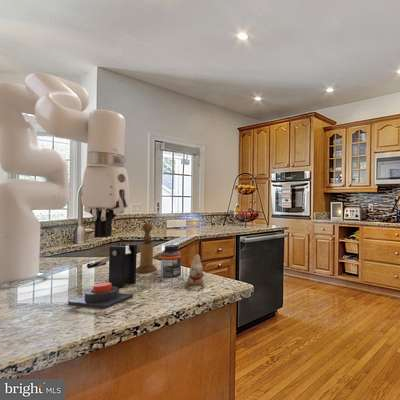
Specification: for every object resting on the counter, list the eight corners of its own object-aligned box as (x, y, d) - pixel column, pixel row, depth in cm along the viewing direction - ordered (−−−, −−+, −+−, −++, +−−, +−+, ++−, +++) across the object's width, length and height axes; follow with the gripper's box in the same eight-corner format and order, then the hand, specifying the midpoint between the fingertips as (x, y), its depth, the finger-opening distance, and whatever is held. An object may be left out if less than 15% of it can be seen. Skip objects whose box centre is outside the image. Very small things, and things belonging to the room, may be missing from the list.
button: (88, 293, 65) (89, 285, 65) (102, 288, 69) (103, 281, 69) (101, 294, 65) (101, 287, 65) (115, 290, 68) (115, 282, 68)
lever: (88, 270, 79) (85, 263, 80) (103, 267, 84) (101, 259, 84) (121, 255, 77) (118, 247, 77) (135, 252, 82) (132, 244, 82)
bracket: (94, 292, 77) (96, 246, 77) (119, 284, 85) (120, 242, 85) (125, 296, 75) (127, 248, 75) (147, 287, 83) (149, 244, 83)
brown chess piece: (147, 278, 93) (148, 223, 93) (130, 276, 94) (132, 223, 94) (160, 273, 99) (162, 222, 100) (145, 272, 101) (146, 222, 101)
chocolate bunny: (180, 291, 80) (181, 256, 80) (190, 283, 88) (190, 251, 88) (200, 291, 80) (201, 256, 80) (208, 283, 88) (208, 251, 88)
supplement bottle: (168, 276, 95) (169, 243, 95) (184, 278, 94) (185, 244, 94) (156, 281, 89) (157, 246, 89) (173, 283, 88) (173, 246, 88)
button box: (67, 311, 64) (68, 293, 64) (99, 299, 72) (100, 284, 72) (104, 315, 62) (104, 297, 62) (132, 303, 70) (133, 287, 70)
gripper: (143, 164, 71) (140, 237, 70) (95, 164, 74) (92, 233, 74) (118, 159, 63) (115, 240, 63) (65, 159, 67) (62, 236, 66)
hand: (102, 236), depth 68 cm, fingers closed
